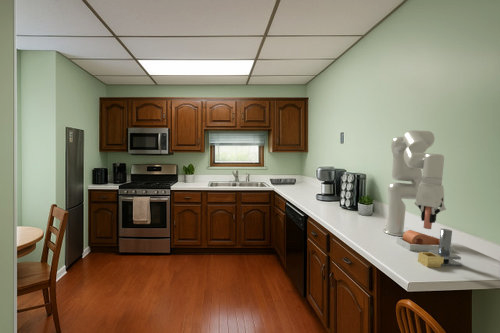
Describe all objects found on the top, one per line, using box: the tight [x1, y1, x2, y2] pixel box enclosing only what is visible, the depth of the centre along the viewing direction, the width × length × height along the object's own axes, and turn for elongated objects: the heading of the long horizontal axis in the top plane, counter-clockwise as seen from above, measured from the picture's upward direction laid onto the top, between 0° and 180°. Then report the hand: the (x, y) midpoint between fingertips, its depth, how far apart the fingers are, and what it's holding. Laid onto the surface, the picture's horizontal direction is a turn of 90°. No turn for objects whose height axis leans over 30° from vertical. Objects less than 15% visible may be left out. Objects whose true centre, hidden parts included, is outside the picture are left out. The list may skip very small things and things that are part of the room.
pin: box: [423, 206, 433, 230], centre depth 127 cm, size 3×3×10 cm
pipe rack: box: [396, 237, 454, 253], centre depth 151 cm, size 12×24×3 cm, turn 94°
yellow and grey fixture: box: [417, 228, 463, 268], centre depth 130 cm, size 12×18×15 cm
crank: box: [402, 229, 440, 245], centre depth 152 cm, size 20×8×8 cm, turn 94°
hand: (428, 221), depth 127 cm, fingers closed on pin, 3 cm apart
